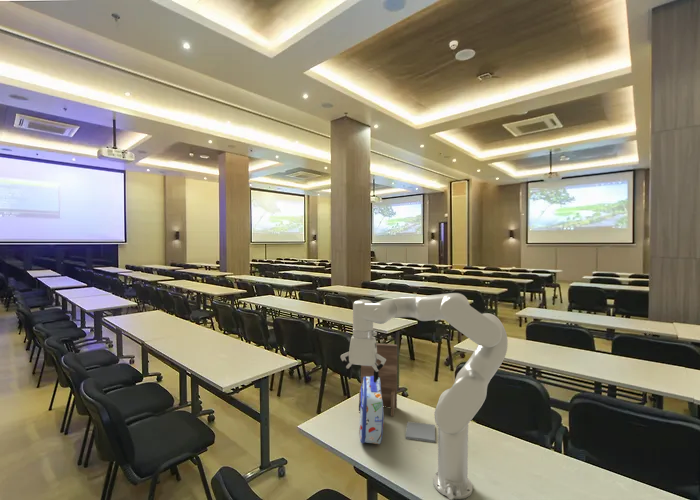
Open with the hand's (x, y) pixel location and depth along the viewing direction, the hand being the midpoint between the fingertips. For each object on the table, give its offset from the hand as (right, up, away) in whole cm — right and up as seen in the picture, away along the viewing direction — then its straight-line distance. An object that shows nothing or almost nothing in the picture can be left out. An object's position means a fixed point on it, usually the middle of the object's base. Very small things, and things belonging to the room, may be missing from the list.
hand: (362, 379), depth 124 cm
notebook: (+26, -31, +19) cm, 44 cm away
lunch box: (+4, -30, +20) cm, 37 cm away
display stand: (+9, -30, +39) cm, 50 cm away
